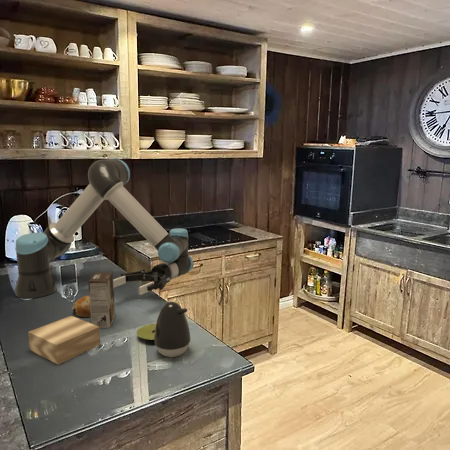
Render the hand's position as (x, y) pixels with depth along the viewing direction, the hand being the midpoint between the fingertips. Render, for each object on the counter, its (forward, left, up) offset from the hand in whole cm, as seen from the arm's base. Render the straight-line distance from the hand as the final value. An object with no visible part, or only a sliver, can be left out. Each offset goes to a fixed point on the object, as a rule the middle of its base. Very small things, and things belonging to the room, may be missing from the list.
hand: (125, 287), depth 144 cm
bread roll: (-11, -8, -9) cm, 17 cm away
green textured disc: (+22, -10, -9) cm, 26 cm away
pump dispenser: (+33, -14, -9) cm, 37 cm away
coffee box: (0, -10, -9) cm, 14 cm away
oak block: (+4, -28, -9) cm, 30 cm away
